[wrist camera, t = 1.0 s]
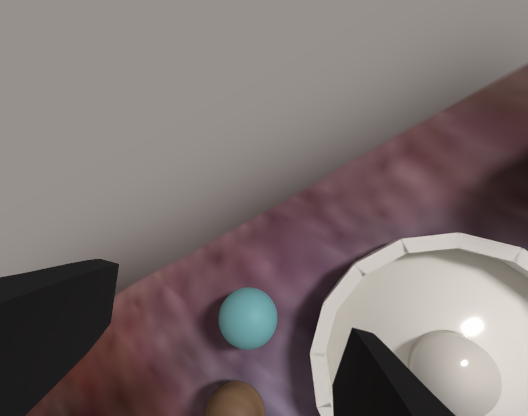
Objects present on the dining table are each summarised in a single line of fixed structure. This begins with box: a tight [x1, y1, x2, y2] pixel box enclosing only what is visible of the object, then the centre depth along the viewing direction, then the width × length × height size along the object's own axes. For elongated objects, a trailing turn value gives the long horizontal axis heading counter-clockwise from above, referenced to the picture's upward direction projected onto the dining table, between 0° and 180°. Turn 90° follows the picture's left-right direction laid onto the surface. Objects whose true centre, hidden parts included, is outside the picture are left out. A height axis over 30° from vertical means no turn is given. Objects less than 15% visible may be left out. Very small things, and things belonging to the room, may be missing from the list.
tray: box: [310, 232, 528, 416], centre depth 21 cm, size 18×18×2 cm
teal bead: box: [219, 287, 277, 350], centre depth 23 cm, size 4×4×4 cm
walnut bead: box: [205, 381, 265, 416], centre depth 23 cm, size 4×4×4 cm
